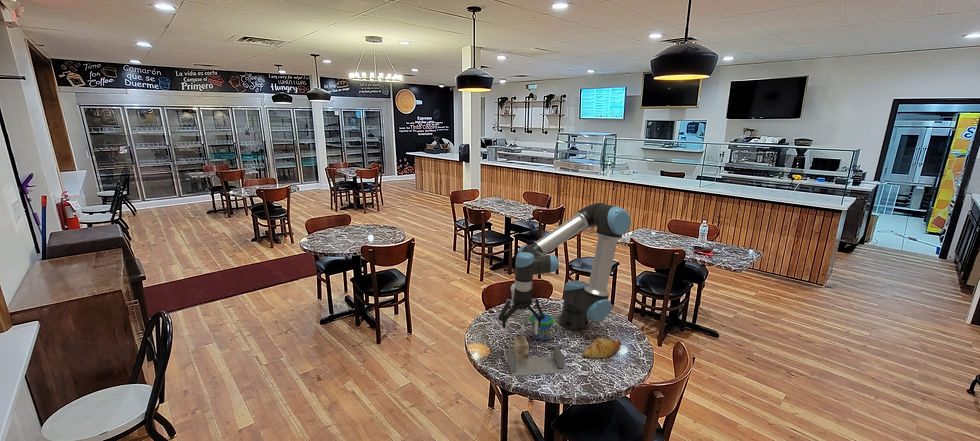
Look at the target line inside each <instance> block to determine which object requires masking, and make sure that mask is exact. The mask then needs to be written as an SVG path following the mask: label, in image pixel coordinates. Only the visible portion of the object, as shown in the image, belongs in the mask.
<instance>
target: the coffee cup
mask: <svg viewBox="0 0 980 441" xmlns="http://www.w3.org/2000/svg"><path fill="white" fill-rule="evenodd" d="M514 289H515V282H514V283H512V284H511V286H510V292H511V300H513V299H514ZM513 305H514V303H512V304H511V307H512V306H513ZM521 313H522V314H524V313H525V310H524V309H522V310H519V309H517V310H516V311H515V312H514V313H513V314H517V315H522V314H521Z"/></svg>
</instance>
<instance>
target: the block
mask: <svg viewBox="0 0 980 441" xmlns="http://www.w3.org/2000/svg"><path fill="white" fill-rule="evenodd" d="M512 349H513V352H514V354H515V357H516V358H529V353H530V352H529V351H530V350H529V349H530V345H529V342H528V339H527V338H526V336H525V335H515V336H513V348H512Z"/></svg>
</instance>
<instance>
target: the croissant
mask: <svg viewBox="0 0 980 441" xmlns="http://www.w3.org/2000/svg"><path fill="white" fill-rule="evenodd" d="M621 345H622V342H621V341H620V340H618V341H617V340H612V339H609V338H606V337H598V338H596V339H594V341H592V342H591V343H590V346H587V347H586V349H585V350H583V352H582V356H583V357H587V358H591V359H594V358H595V359H606V358H608V357H611V356H612V355H614V354H615V353H616V352H617V351H618V350H619V349H620V347H621Z"/></svg>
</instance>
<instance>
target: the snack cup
mask: <svg viewBox="0 0 980 441" xmlns="http://www.w3.org/2000/svg"><path fill="white" fill-rule="evenodd" d="M536 313H537V314H538V315H539V316H540V313H539V312H536ZM543 314H544V316H545V319H541V321H540V327H538V334H537V335H536V334H535V332H534V328H535V318H536V317H535V316H534V314H533V313H532V314H531V316H529V317H528V318H526V320H525V323H524V328H525V330H527V328H528V327H527V325H528V324H527V323H528V321H530V322H531V329H532V330H531V331H532V337H533V338H534V339H536V340H537V341H545V340H547V339H548V338H549V337H550V332H551V328H552V325H553V323H554V324H555V326H556V329H555V333H558V329H559V327H558V325H559V323H558V322H557V320H556V319H555V318H553V316H552V315H550V314H549V313H544V312H543Z"/></svg>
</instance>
